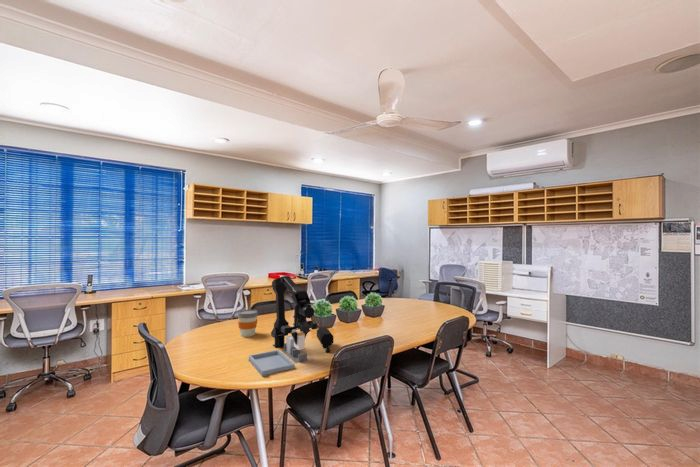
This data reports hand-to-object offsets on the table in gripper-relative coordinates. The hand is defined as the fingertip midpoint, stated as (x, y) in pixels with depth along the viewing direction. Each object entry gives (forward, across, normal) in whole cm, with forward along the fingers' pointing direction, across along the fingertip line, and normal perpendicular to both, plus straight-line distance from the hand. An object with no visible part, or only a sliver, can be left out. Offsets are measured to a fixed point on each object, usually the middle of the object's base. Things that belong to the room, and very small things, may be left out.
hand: (299, 343), depth 170 cm
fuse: (+8, 0, +11) cm, 14 cm away
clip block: (+8, 0, +6) cm, 10 cm away
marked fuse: (+2, 0, 0) cm, 2 cm away
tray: (+8, -15, +1) cm, 17 cm away
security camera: (+8, +20, +8) cm, 23 cm away
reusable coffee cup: (+8, -12, +56) cm, 58 cm away
